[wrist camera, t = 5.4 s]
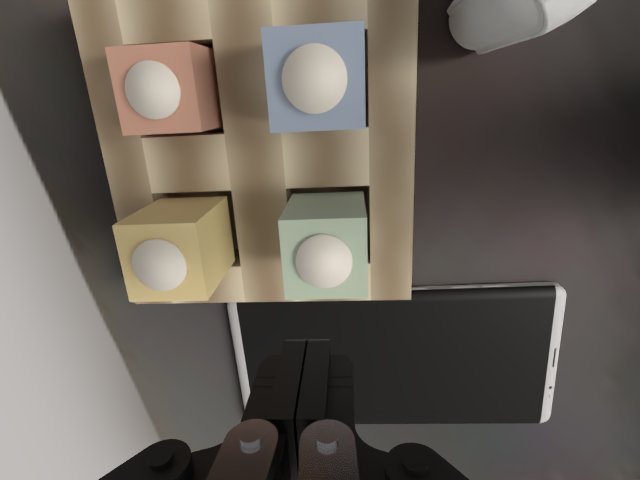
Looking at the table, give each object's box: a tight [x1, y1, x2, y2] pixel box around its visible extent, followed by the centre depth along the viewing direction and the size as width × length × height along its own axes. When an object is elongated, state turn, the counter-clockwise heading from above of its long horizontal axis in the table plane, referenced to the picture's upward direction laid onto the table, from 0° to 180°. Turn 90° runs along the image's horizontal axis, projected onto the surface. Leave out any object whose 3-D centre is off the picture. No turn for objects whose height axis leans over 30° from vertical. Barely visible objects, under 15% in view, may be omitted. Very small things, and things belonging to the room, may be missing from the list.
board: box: [68, 0, 419, 304], centre depth 28 cm, size 20×20×4 cm
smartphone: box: [227, 282, 566, 424], centre depth 36 cm, size 13×27×2 cm, turn 94°
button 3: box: [261, 20, 366, 133], centre depth 22 cm, size 5×5×6 cm
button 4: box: [278, 191, 368, 300], centre depth 25 cm, size 5×5×6 cm
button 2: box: [112, 196, 235, 302], centre depth 25 cm, size 5×5×6 cm
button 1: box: [105, 41, 223, 136], centre depth 25 cm, size 5×5×6 cm
